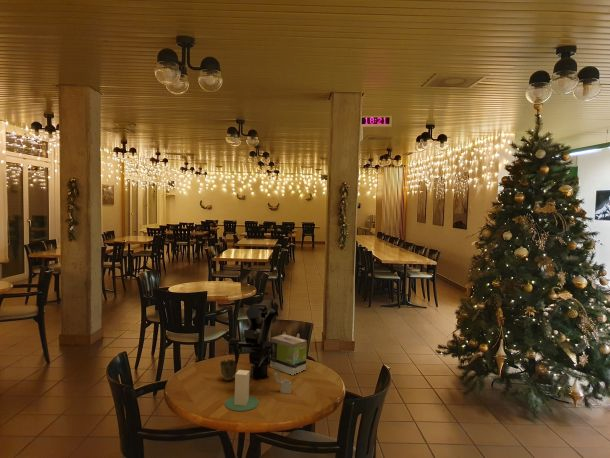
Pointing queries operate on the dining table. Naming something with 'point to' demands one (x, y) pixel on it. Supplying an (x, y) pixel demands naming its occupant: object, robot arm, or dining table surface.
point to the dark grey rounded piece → (228, 369)
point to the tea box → (289, 354)
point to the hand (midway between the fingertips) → (247, 365)
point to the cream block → (241, 387)
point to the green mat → (249, 406)
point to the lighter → (283, 384)
